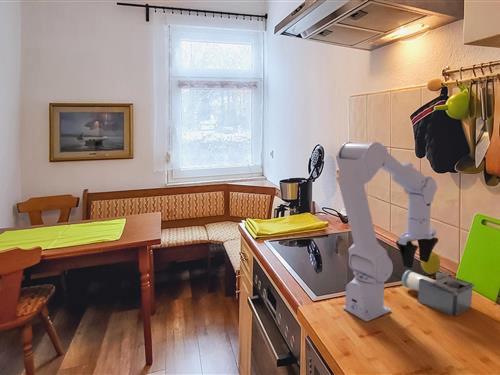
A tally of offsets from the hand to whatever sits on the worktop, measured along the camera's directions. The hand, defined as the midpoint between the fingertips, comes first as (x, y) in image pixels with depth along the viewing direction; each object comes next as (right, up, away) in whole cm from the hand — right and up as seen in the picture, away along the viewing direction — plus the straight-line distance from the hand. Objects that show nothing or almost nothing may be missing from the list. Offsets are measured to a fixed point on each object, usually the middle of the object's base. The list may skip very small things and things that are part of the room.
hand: (416, 263), depth 95 cm
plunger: (+5, -5, -8) cm, 11 cm away
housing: (+4, -9, -6) cm, 12 cm away
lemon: (+11, -7, +13) cm, 18 cm away
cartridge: (+2, -9, -1) cm, 9 cm away
